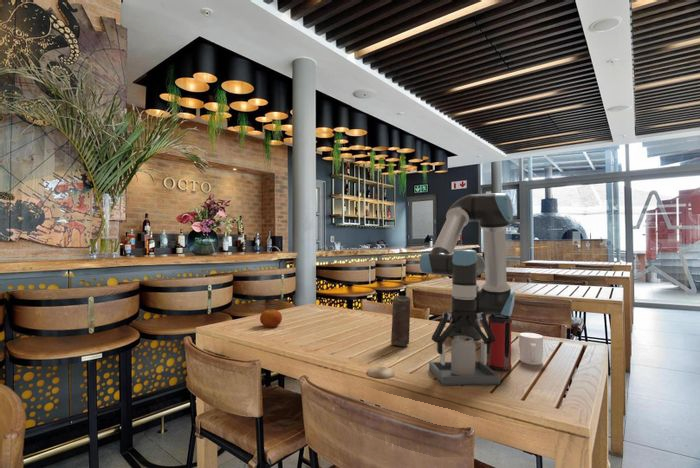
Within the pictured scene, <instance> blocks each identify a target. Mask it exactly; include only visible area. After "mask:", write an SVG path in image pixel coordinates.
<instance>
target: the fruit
mask: <svg viewBox="0 0 700 468" xmlns="http://www.w3.org/2000/svg"><path fill="white" fill-rule="evenodd" d="M259 320H260V321H259V322H260V323H261V325H262V326H263V327H266V328H276V327H278V326H279V325H281V322H282V320H283V315H282V313H281V312H280V311H279V310H277V309H266V310H264V311H262V312H261V313H260V316H259Z"/></svg>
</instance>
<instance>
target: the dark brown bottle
mask: <svg viewBox="0 0 700 468" xmlns="http://www.w3.org/2000/svg"><path fill="white" fill-rule="evenodd" d="M411 301H412V300H411V298H410V296H407V295H397V296H394V297H393V298H392V313H391V314H392V318H391V319H392V320H391V337H390V344H391V345H393V346H396V347H405V346H407V345H409V344H410V326H411V325H410V322H411V320H410V319H411Z"/></svg>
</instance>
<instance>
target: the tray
mask: <svg viewBox="0 0 700 468" xmlns="http://www.w3.org/2000/svg"><path fill="white" fill-rule="evenodd" d="M428 363H429V366H428V368H429V371H430V372H431V374H432V375H433V376H434V378H436V381H438V382H439V384H440V385H441V386H443V387H448V386H449V387H451V386H452V387H453V386H455V387H456V386H463V387H464V386H466V387H467V386H501V376H500V375H499V374H497V373H496V372H495V371H494V370H493V369H491V368H490V367H488V365H484V364H483V363H481V360H480V361H479V360H478V361H477V360H475V375H474V376H455V375H454V374H453V373H452V372H451V361H445V365H442V364H441V363H440V361H429V362H428Z"/></svg>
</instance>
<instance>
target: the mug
mask: <svg viewBox="0 0 700 468" xmlns="http://www.w3.org/2000/svg"><path fill="white" fill-rule="evenodd" d="M518 336H519V338H518V347H519V361H521V362H522V363H524V364H527V365H532V366H536V365H537V366H540V365H542V364H543V356H544V336H543V335H541V334H538V333H533V332H521V333H519V335H518Z"/></svg>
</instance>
